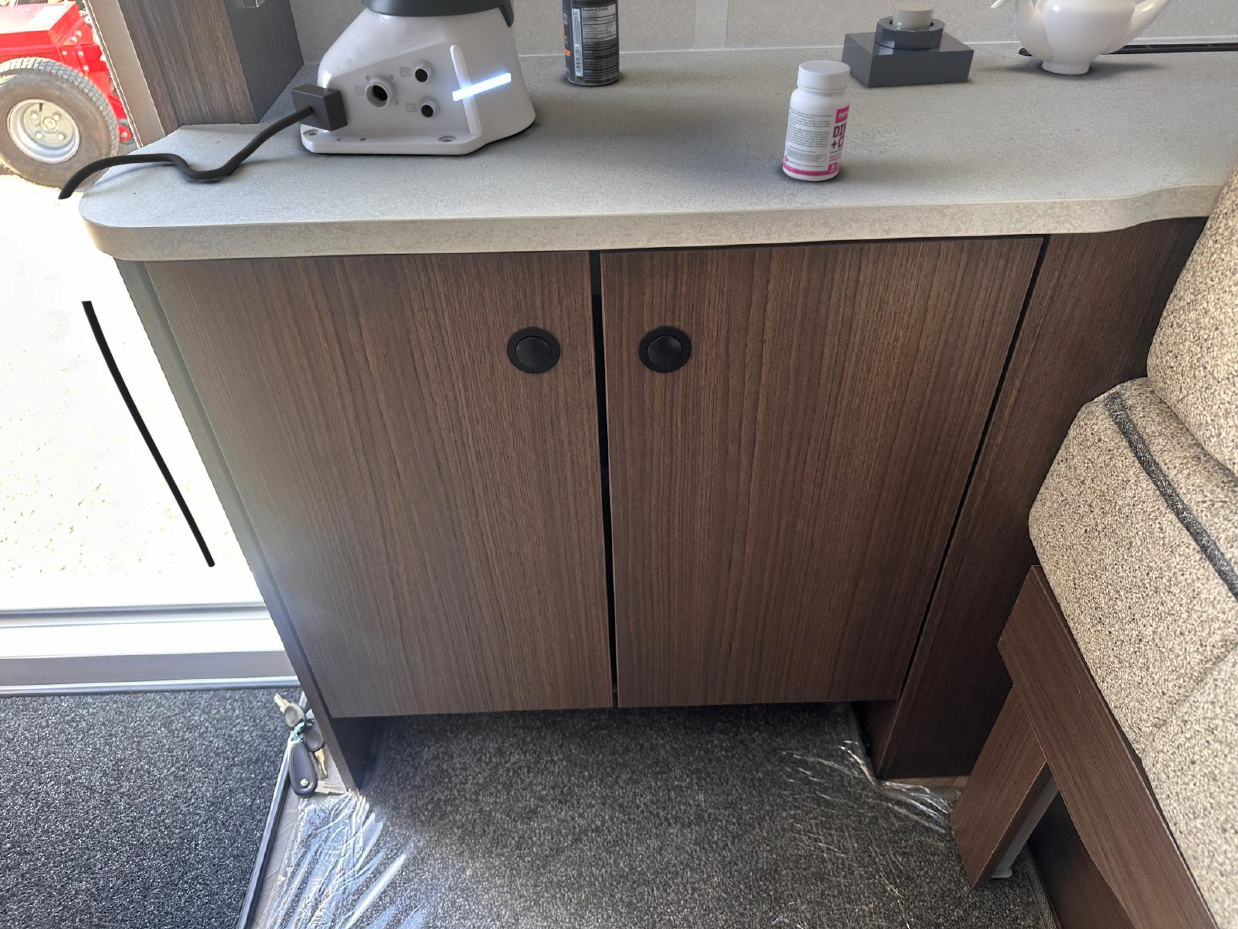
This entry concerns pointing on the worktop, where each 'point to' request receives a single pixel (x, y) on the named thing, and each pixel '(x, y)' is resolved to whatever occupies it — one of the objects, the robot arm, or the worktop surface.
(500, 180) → the worktop surface
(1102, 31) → the teapot
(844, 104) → the pill bottle
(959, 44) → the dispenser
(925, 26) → the dispenser button
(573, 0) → the dark grey can
